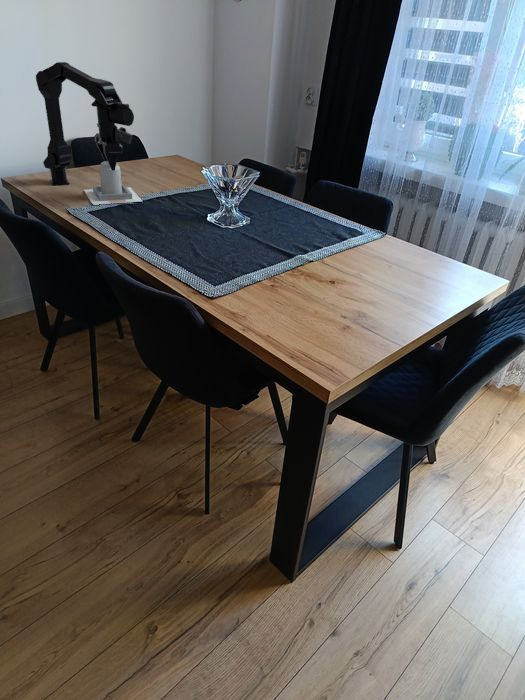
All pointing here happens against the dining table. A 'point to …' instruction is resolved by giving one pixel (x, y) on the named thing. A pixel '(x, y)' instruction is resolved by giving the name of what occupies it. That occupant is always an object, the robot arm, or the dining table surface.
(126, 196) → the collar plate
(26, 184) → the dining table surface
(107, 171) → the can
